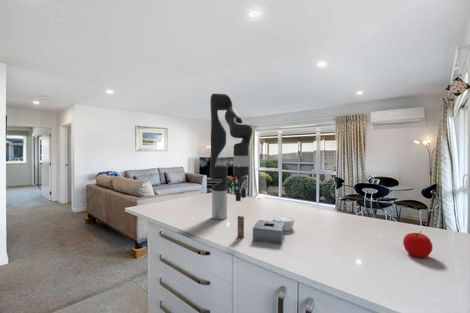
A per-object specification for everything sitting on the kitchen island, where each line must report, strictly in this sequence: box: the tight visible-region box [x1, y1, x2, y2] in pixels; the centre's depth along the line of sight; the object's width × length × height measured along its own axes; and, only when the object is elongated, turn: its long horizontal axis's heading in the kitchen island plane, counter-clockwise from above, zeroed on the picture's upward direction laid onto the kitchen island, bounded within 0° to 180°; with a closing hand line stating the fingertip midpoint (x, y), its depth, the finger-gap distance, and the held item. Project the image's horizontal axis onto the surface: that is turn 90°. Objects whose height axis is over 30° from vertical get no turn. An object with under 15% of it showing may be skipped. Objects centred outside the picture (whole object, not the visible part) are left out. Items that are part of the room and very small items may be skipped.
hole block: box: [252, 219, 285, 245], centre depth 110 cm, size 13×13×6 cm
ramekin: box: [272, 215, 295, 232], centre depth 124 cm, size 11×11×5 cm
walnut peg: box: [237, 215, 245, 239], centre depth 111 cm, size 3×3×10 cm
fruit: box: [402, 230, 433, 258], centre depth 91 cm, size 9×9×10 cm
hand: (240, 199), depth 110 cm, fingers open, 8 cm apart
